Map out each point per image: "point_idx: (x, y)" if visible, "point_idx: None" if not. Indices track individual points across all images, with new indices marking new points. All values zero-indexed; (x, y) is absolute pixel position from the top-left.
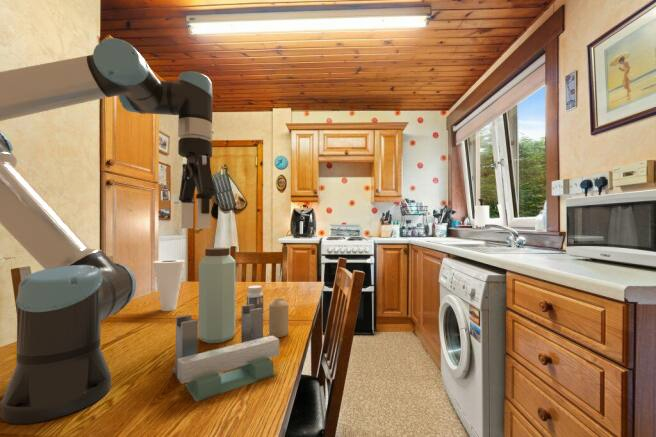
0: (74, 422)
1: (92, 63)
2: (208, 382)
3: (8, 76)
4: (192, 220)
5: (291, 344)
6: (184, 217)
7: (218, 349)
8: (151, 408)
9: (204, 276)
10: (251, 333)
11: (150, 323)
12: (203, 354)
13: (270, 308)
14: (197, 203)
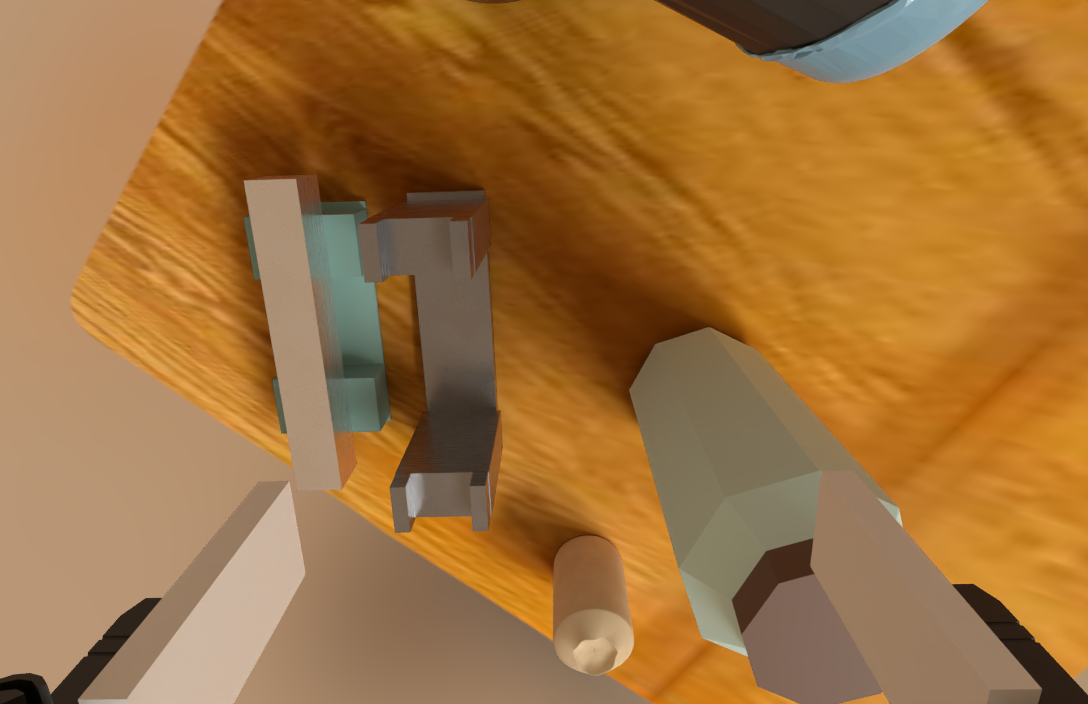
0: None
1: None
2: (250, 243)
3: None
4: (842, 615)
5: (474, 551)
6: (868, 562)
7: (308, 308)
8: (288, 97)
9: (736, 449)
10: (408, 446)
11: None
12: (288, 256)
13: (591, 601)
14: (145, 654)
